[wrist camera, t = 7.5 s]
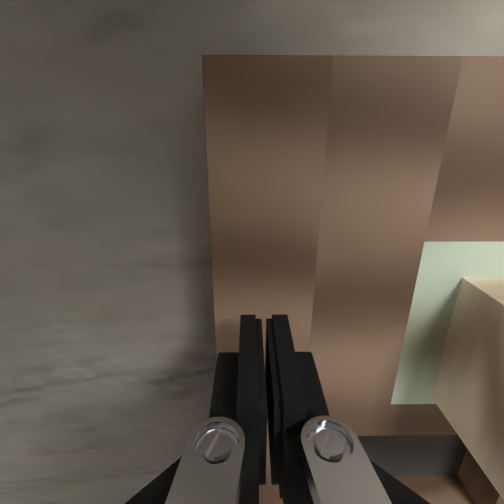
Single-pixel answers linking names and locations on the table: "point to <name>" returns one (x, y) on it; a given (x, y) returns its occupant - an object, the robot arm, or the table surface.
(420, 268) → the board
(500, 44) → the table surface
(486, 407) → the birch block
